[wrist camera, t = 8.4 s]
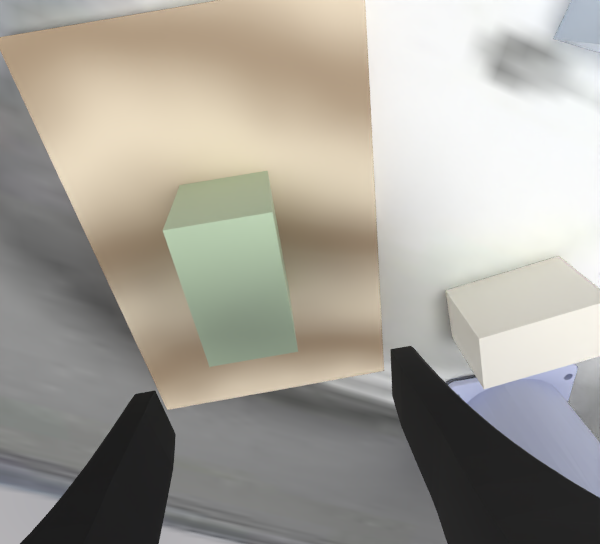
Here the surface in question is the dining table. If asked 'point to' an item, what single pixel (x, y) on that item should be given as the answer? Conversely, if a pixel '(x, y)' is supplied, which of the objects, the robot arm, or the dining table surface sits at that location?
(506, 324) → the ivory brick
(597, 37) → the blue brick
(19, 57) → the birch board
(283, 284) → the green brick
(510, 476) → the robot arm
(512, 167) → the dining table surface
